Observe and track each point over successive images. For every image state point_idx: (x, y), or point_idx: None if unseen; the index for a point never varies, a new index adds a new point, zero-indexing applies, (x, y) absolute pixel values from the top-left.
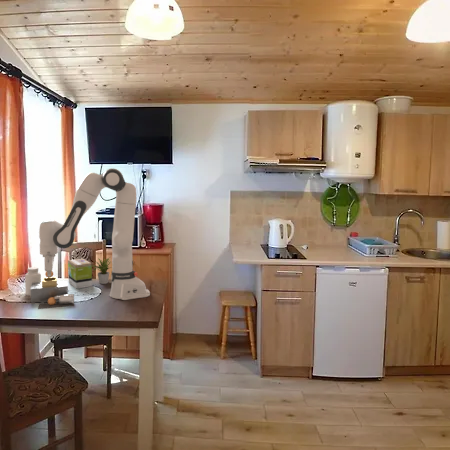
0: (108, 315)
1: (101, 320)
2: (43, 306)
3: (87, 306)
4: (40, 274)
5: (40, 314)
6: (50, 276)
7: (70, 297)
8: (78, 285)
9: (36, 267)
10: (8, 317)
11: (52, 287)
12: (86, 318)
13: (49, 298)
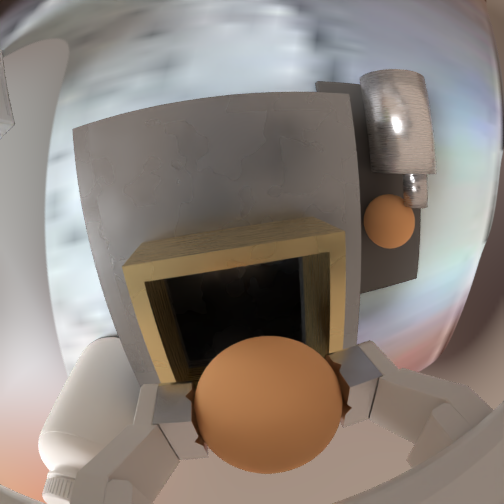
0: (468, 15)
1: (496, 49)
2: (392, 260)
3: (400, 34)
4: (67, 438)
5: (457, 249)
6: (371, 346)
7: (428, 100)
8: (2, 109)
9: (49, 500)
10: (437, 352)
11: (359, 253)
12: (493, 82)
13: (405, 240)
